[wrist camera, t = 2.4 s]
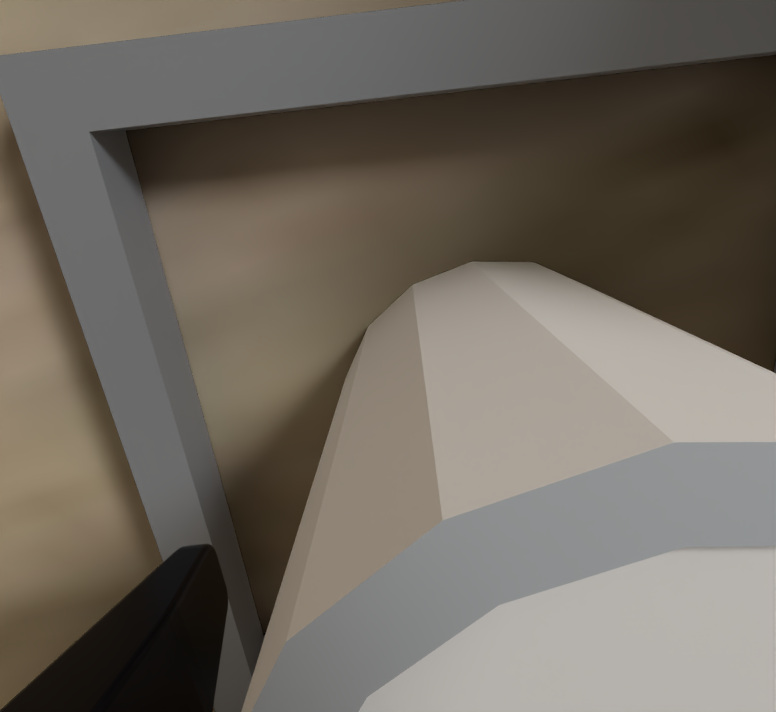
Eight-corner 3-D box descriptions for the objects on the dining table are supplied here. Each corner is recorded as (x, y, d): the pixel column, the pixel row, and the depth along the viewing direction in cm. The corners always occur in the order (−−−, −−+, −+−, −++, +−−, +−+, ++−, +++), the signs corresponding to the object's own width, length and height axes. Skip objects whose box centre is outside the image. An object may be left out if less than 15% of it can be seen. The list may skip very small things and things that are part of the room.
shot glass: (429, 587, 12) (493, 1084, 6) (236, 357, 10) (4, 767, 4) (716, 442, 11) (1190, 877, 5) (572, 139, 9) (1129, 179, 2)
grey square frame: (918, -38, 8) (1006, -65, 7) (769, 612, 13) (806, 657, 12) (39, 66, 8) (-14, 56, 7) (230, 669, 13) (218, 718, 12)
